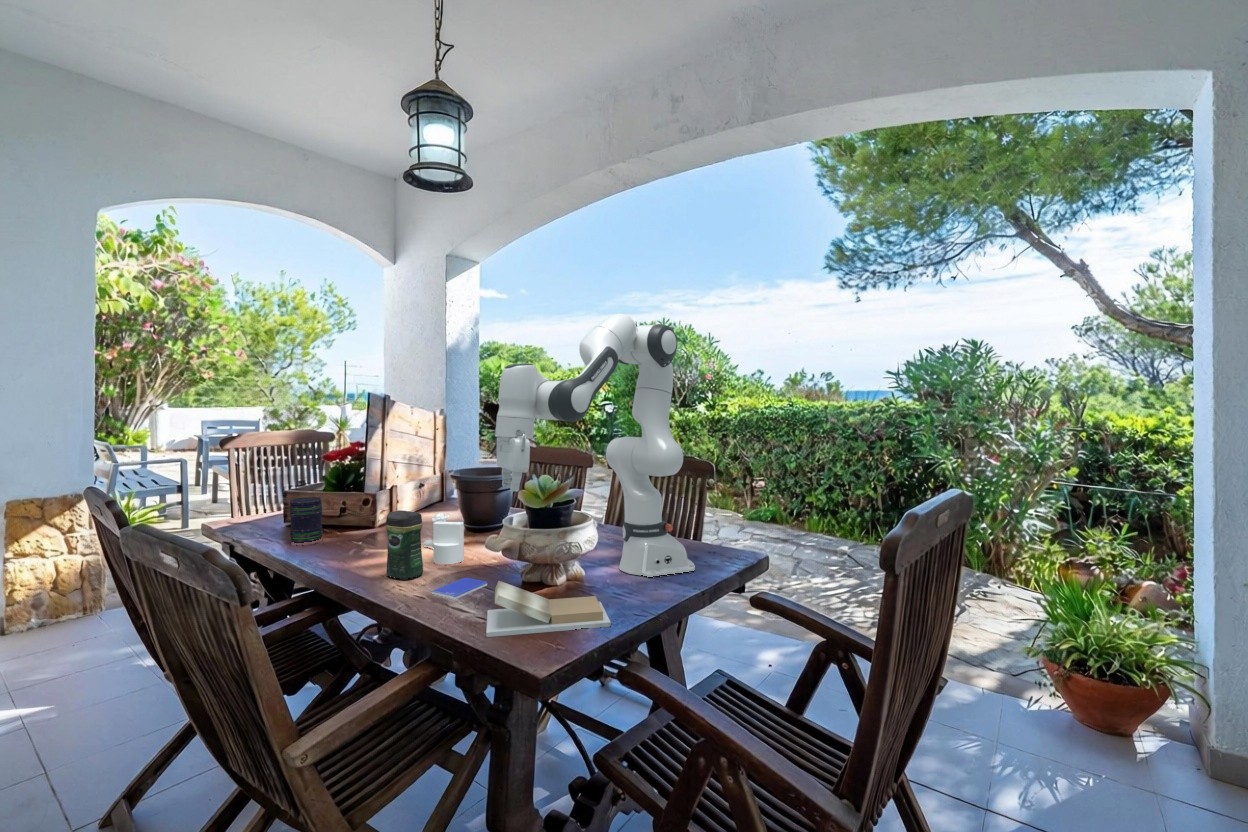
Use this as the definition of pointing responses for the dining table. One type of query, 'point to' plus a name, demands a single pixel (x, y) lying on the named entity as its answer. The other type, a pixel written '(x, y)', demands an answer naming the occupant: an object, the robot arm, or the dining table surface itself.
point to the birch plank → (522, 601)
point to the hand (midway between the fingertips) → (510, 489)
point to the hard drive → (459, 588)
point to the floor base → (531, 624)
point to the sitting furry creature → (437, 518)
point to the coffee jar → (404, 544)
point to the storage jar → (306, 519)
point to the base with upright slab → (448, 542)
